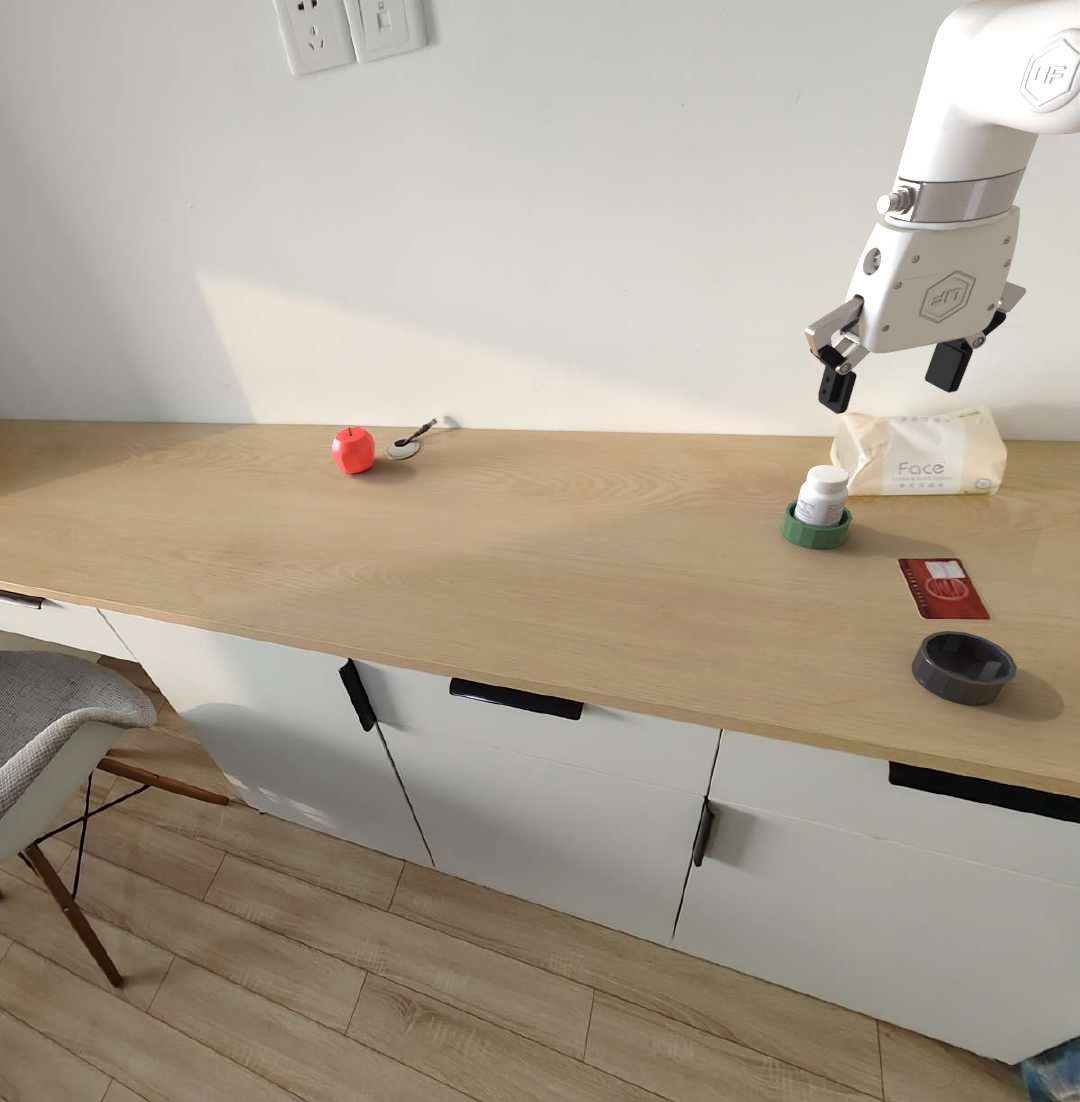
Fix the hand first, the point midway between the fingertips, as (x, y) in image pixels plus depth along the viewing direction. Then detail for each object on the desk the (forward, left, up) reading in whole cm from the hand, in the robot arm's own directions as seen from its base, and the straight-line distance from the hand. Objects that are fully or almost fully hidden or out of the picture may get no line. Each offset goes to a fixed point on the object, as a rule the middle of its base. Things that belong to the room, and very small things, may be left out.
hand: (885, 396), depth 61 cm
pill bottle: (+4, -10, -24) cm, 26 cm away
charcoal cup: (-13, +7, -24) cm, 29 cm away
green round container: (+4, -10, -24) cm, 26 cm away
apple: (+71, +3, -24) cm, 75 cm away
